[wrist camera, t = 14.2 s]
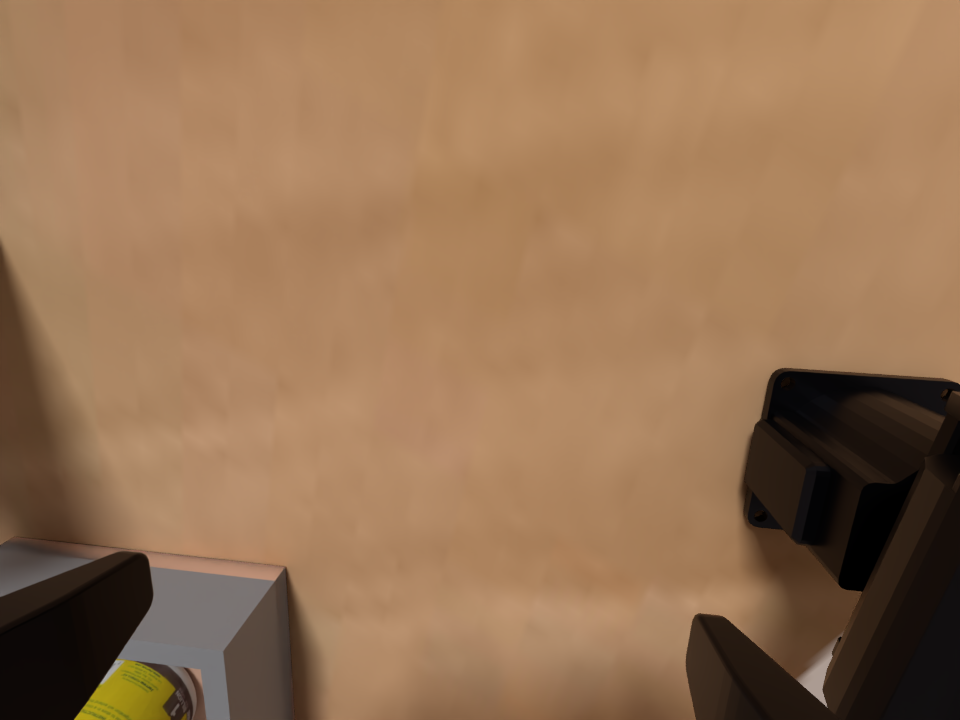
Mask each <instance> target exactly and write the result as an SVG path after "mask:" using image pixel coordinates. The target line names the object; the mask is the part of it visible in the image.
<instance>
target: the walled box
mask: <svg viewBox="0 0 960 720" xmlns="http://www.w3.org/2000/svg"><path fill="white" fill-rule="evenodd" d="M119 551H131V552H140V553H143V554H145V555H146V556H147V557H148V559H149V563H150V570H151V577H152V585H153V592H154V596H153V601H152V605H151V607H150V609H149V611H148V612H147V614H146V615H145V617H144V618H143V620H142V621H141V623H140V624H139V626H138V627H137V629H136V631H135V632H134V634H133V635H132V637H131V638H130V640H129V641H128V643H127V644H126V646H125V647H124V649H123V650H122V652H121V653H120V655H119V656H118V658H117V659H125V660H132V661H140V662H148V663H155V664H163V665H170V666H178V667H183V668H184V669H185V670H186V671H187V673H188V674H189V676H190V678H191V680H192V682H193V684H194V687H195V691H196V697H197V704H196V711H195V715H194V717H193V720H295V714H294V697H293V681H292V665H291V649H290V633H289V616H288V600H287V584H286V568H285V567H284V566H274V565H265V564H256V563H247V562H238V561H229V560H220V559H211V558H202V557H193V556H184V555H175V554H166V553H157V552H148V551H139V550H129V549H120V548H111V547H102V546H93V545H84V544H75V543H66V542H57V541H48V540H39V539H30V538H21V537H13V538H11V539H10V540H8V541H6V542H4V543H3V544H1V545H0V597H1V596H4V595H6V594H9V593H12V592H14V591H17V590H19V589H22V588H25V587H27V586H30V585H32V584H35V583H38V582H40V581H43V580H45V579H48V578H51V577H53V576H56V575H58V574H61V573H64V572H66V571H69V570H71V569H74V568H77V567H79V566H82V565H84V564H87V563H90V562H92V561H95V560H97V559H100V558H103V557H105V556H108V555H110V554H113V553H115V552H119Z"/></svg>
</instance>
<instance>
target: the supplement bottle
mask: <svg viewBox="0 0 960 720" xmlns="http://www.w3.org/2000/svg"><path fill="white" fill-rule="evenodd" d="M196 704H197V697H196V691H195V687H194V684H193V682H192V680H191V678H190V676H189V674H188V673H187V671H186V670H185V669H184V668H183V667H178V666H170V665H163V664H155V663H148V662H140V661H132V660H125V659H116V661H115V662H114V664H113V665H112V667H111V668H110V670H109V671H108V673H107V674H106V676H105V677H104V679H103V680H102V682H101V683H100V685H99V686H98V688H97V689H96V690H95V692H94V693H93V695H92V696H91V698H90V699H89V701H88V702H87V703H86V705H85V706H84V707H83V709H82V710H81V711H80V713H79V714H78V715H77V717H76V718H75V719H74V720H193V717H194V715H195V711H196Z"/></svg>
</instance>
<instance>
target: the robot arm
mask: <svg viewBox="0 0 960 720" xmlns="http://www.w3.org/2000/svg"><path fill="white" fill-rule="evenodd" d="M788 377H790V383H789V385H787V386H786V387H781V382H782V380H783V379H785V378H788ZM945 389H948V393H947V394H946V396H944V397H943V398H941V393H942V392H943V391H944V390H945ZM745 483H746V484H747V485H748V491H747V496H746V501H745V506H744V515H745V517H746V518H747V520H748V521H749V523H750V524H752V525H753V526H756V527H761V528H771V529H782V530H784V531H785V532H786V533H787V534H788V536H789V537H790V538H791V539H792V540H793V541H794V543H796V544H797V545H806V546H807V547H808V549H809V550H810V551H811V552H812V553H813V555H814V556H815V557H816V558H817V559H818V561H819V562H820V563H821V564H822V565H823V566H824V568H825V569H826V570H827V571H828V572H829V574H830V575H831V576H832V577H833V578H834V580H835V581H836V582H837V583H838V584H839V585H840V587H841V588H843V589H846V590H854V591H862V595H861V597H860V599H859V601H858V603H857V605H856V608H855V610H854V612H853V614H852V616H851V618H850V621H849V623H848V625H847V627H846V629H845V631H844V634H843V636H842V637H839V638H838V640H837V642H836V644H835V647H834V649H833V651H832V655H833V657H832V660H831V662H830V664H829V666H828V668H827V672H826V676H825V681H824V685H823V693H824V697H825V700H826V703H827V707H828V708H827V707H826V706H825V705H824V704H823V703H821V702H820V701H819V700H818V699H817V698H816V697H815V696H813V695H812V694H811V693H810V692H809V691H808V690H807V689H806V688H804V687H803V686H802V685H801V684H800V683H799V682H798V681H797V680H795V679H794V678H793V677H792V676H791V675H790V674H789V673H787V672H786V671H785V670H784V669H783V668H782V667H781V666H780V665H778V664H777V663H776V662H775V661H774V660H773V659H772V658H770V657H769V656H768V655H767V654H766V653H765V652H764V651H763V650H761V649H760V648H759V647H758V646H757V645H756V644H755V643H753V642H752V641H751V640H750V639H749V638H748V637H747V636H746V635H744V634H743V633H742V632H741V631H740V630H739V629H738V628H736V627H735V626H734V625H733V624H732V623H731V622H730V621H729V620H727V619H726V618H725V617H723V616H719V615H711V614H701V613H698V614H697V615H695V616H694V618H693V621H692V626H691V631H690V637H689V643H688V648H687V654H686V672H687V678H688V683H689V687H690V692H691V697H692V702H693V707H694V712H695V717H696V720H960V385H959V384H958V383H956V382H953V381H950V380H947V379H941V378H926V377H912V376H897V375H882V374H867V373H852V372H837V371H822V370H808V369H793V368H782V369H778V370H776V371H775V372H774V373H773V374H772V375H771V377H770V379H769V384H768V389H767V394H766V399H765V404H764V409H763V414H762V419H761V420H759V421H758V422H757V423H756V424H755V427H754V433H753V438H752V443H751V448H750V453H749V458H748V464H747V469H746V474H745ZM761 510H763V513H762V514H761V515H760V516H754V515H755V513H756V512H757V511H761ZM153 596H154V592H153V585H152V577H151V570H150V563H149V559H148V557H147V556H146V555H145V554H143V553H140V552H131V551H119V552H115V553H113V554H110V555H108V556H105V557H103V558H100V559H97V560H95V561H92V562H90V563H87V564H84V565H82V566H79V567H77V568H74V569H71V570H69V571H66V572H64V573H61V574H58V575H56V576H53V577H51V578H48V579H45V580H43V581H40V582H38V583H35V584H32V585H30V586H27V587H25V588H22V589H19V590H17V591H14V592H12V593H9V594H6V595H4V596H1V597H0V720H74V719H75V718H76V717H77V715H78V714H79V713H80V711H81V710H82V709H83V707H84V706H85V705H86V703H87V702H88V701H89V699H90V698H91V696H92V695H93V693H94V692H95V690H96V689H97V688H98V686H99V685H100V683H101V682H102V680H103V679H104V677H105V676H106V674H107V673H108V671H109V670H110V668H111V667H112V665H113V664H114V662H115V661H116V659H117V658H118V656H119V655H120V653H121V652H122V650H123V649H124V647H125V646H126V644H127V643H128V641H129V640H130V638H131V637H132V635H133V634H134V632H135V631H136V629H137V627H138V626H139V624H140V623H141V621H142V620H143V618H144V617H145V615H146V614H147V612H148V611H149V609H150V607H151V605H152V601H153Z"/></svg>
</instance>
